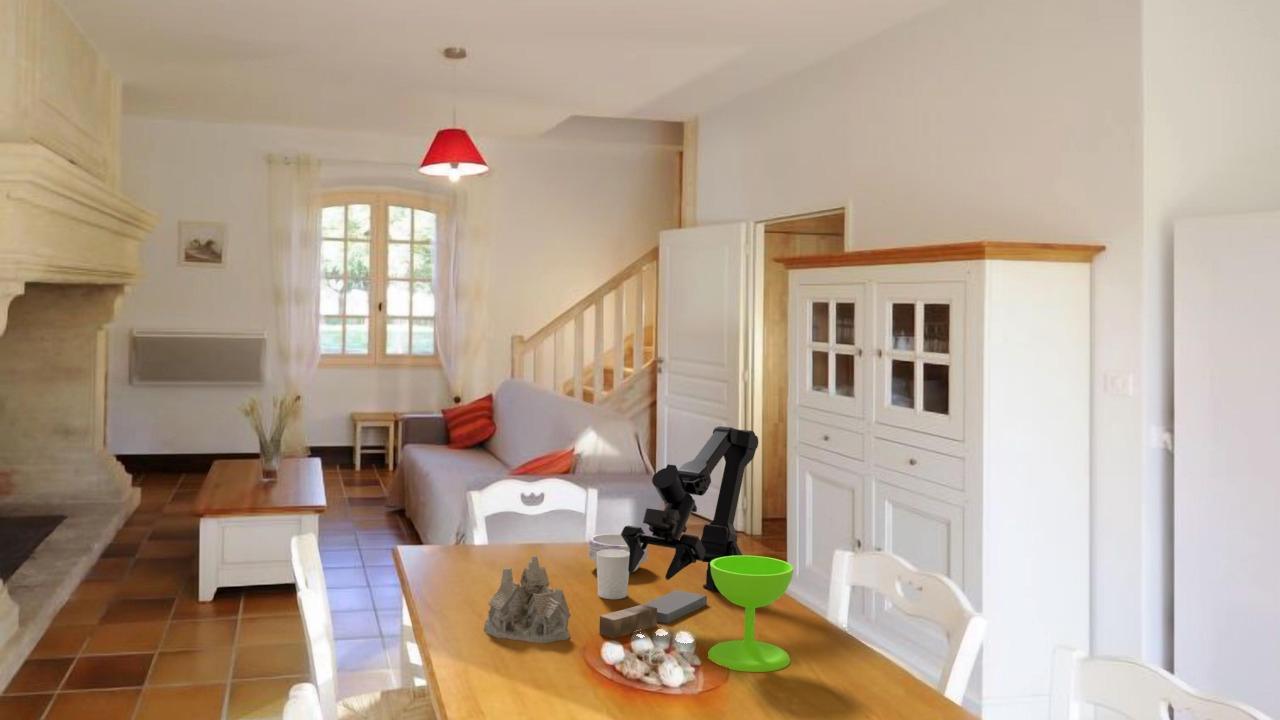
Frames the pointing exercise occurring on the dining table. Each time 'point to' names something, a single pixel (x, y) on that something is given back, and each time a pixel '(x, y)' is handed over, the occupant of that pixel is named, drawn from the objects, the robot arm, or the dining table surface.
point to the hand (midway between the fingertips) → (647, 575)
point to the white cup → (612, 573)
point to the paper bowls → (610, 546)
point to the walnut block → (628, 621)
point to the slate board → (676, 605)
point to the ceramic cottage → (528, 608)
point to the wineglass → (750, 608)
